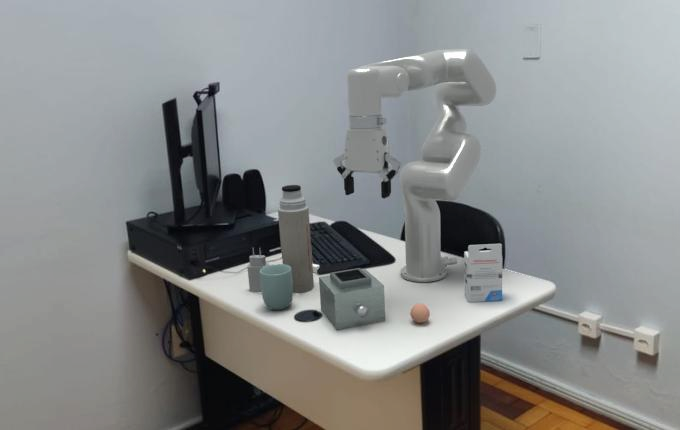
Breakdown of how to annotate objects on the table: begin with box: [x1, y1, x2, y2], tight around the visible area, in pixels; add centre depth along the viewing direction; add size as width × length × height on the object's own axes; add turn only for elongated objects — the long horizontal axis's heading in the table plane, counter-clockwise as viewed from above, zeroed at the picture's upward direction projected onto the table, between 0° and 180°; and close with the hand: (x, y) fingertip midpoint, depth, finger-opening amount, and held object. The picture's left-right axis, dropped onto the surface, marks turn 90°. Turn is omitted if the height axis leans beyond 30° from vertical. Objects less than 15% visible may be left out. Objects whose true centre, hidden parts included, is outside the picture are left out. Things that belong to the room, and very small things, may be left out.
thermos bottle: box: [277, 184, 315, 294], centre depth 163 cm, size 8×8×28 cm
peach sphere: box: [409, 303, 431, 324], centre depth 142 cm, size 4×4×4 cm
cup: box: [260, 263, 294, 311], centre depth 154 cm, size 8×8×10 cm
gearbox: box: [318, 267, 386, 331], centre depth 146 cm, size 12×14×10 cm
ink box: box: [463, 243, 503, 303], centre depth 152 cm, size 8×5×15 cm, turn 90°
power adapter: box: [247, 247, 270, 293], centre depth 165 cm, size 3×5×12 cm, turn 80°
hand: (367, 195), depth 147 cm, fingers open, 9 cm apart
